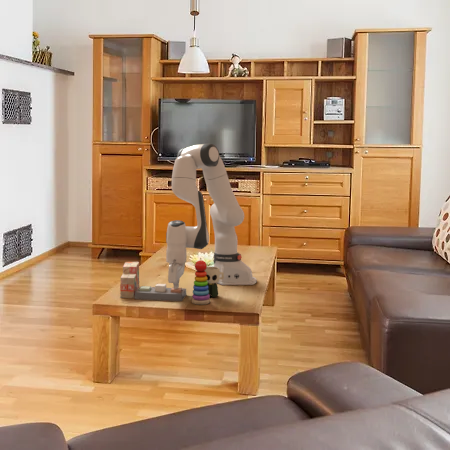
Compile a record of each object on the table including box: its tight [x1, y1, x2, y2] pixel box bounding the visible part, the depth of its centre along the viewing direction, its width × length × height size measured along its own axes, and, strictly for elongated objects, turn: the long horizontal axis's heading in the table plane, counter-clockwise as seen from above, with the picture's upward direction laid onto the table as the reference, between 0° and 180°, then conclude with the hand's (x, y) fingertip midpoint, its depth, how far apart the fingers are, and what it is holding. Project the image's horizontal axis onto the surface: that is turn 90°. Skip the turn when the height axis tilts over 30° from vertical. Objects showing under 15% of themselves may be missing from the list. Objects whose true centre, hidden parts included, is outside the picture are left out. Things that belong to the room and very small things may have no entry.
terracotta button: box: [171, 286, 183, 293], centre depth 299 cm, size 4×4×3 cm
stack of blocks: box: [119, 261, 140, 299], centre depth 308 cm, size 21×6×12 cm, turn 1°
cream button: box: [154, 283, 167, 292], centre depth 300 cm, size 4×4×3 cm
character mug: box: [205, 266, 224, 298], centre depth 302 cm, size 11×7×13 cm, turn 88°
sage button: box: [139, 285, 152, 291], centre depth 301 cm, size 4×4×3 cm
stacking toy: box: [191, 259, 211, 306], centre depth 290 cm, size 8×8×19 cm
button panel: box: [134, 286, 187, 302], centre depth 300 cm, size 21×11×3 cm, turn 84°
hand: (176, 288), depth 299 cm, fingers closed, pressing on terracotta button
